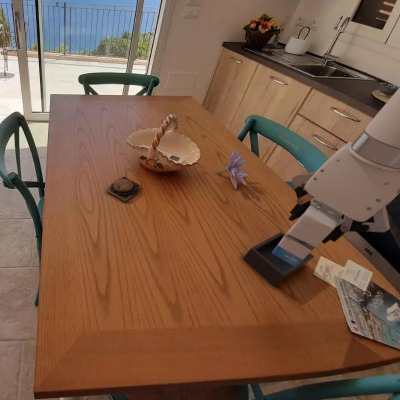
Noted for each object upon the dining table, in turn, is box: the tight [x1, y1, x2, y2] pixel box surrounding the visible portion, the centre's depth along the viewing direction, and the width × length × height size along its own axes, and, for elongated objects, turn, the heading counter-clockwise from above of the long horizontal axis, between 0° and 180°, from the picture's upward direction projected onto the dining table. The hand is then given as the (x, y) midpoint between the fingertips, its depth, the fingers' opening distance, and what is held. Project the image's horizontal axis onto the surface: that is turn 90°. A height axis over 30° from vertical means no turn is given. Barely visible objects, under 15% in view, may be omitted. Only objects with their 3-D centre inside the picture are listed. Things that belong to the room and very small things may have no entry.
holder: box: [242, 231, 315, 287], centre depth 71 cm, size 9×13×5 cm
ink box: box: [272, 198, 344, 267], centre depth 53 cm, size 9×5×12 cm, turn 130°
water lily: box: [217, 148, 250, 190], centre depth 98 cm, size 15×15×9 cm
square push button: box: [107, 176, 141, 202], centre depth 90 cm, size 11×8×4 cm
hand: (309, 228), depth 52 cm, fingers closed on ink box, 5 cm apart
